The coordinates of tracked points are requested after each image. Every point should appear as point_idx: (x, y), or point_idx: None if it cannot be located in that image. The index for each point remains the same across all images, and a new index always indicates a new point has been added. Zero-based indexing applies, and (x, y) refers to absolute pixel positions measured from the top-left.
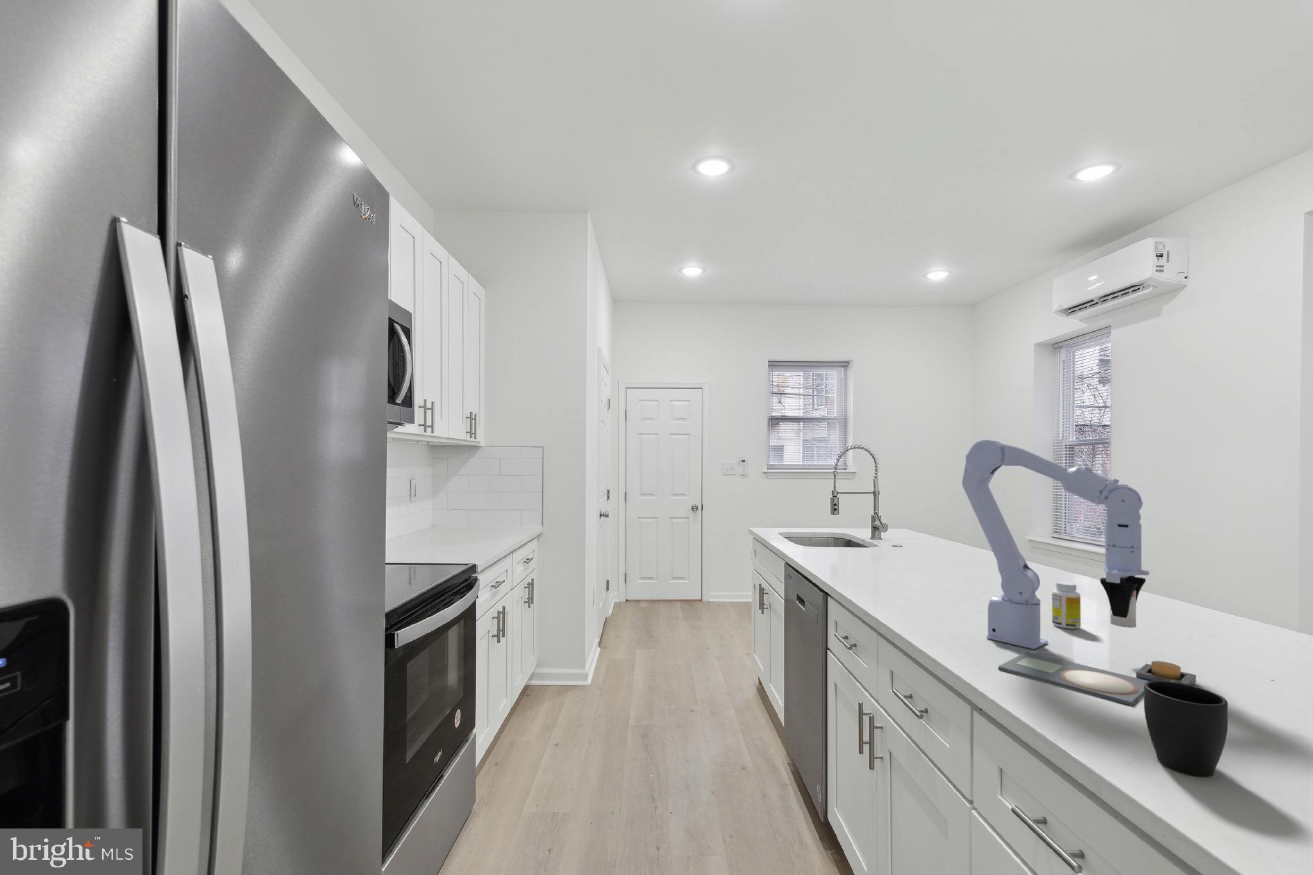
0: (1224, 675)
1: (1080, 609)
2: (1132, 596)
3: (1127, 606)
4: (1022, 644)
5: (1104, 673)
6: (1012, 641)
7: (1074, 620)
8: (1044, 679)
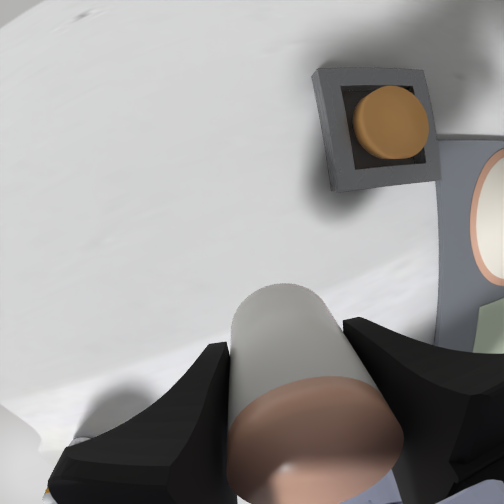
0: (142, 67)
1: None
2: (354, 378)
3: (400, 335)
4: None
5: (465, 235)
6: None
7: None
8: None
